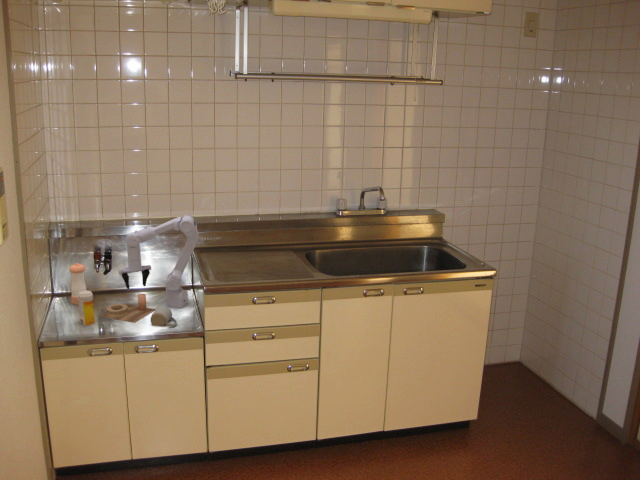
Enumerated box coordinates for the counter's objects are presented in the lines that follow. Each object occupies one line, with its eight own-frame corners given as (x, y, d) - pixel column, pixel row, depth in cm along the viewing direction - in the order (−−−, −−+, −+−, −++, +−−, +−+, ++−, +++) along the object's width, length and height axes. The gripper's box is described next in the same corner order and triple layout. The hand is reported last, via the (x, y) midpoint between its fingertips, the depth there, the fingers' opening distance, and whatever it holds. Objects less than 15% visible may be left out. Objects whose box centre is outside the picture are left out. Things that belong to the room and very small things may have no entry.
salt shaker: (69, 301, 312) (66, 262, 307) (85, 298, 316) (82, 260, 311) (74, 305, 307) (71, 266, 301) (90, 302, 311) (87, 264, 306)
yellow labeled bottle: (97, 323, 288) (95, 291, 283) (88, 328, 282) (86, 295, 278) (86, 321, 289) (83, 289, 285) (77, 326, 284) (74, 293, 280)
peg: (148, 308, 302) (147, 294, 300) (143, 311, 299) (142, 296, 297) (141, 307, 304) (140, 293, 302) (136, 310, 300) (136, 295, 298)
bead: (131, 311, 298) (131, 305, 297) (119, 319, 290) (119, 312, 289) (115, 309, 301) (114, 302, 300) (102, 315, 293) (102, 309, 292)
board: (156, 311, 302) (156, 309, 302) (135, 325, 287) (134, 322, 286) (121, 305, 308) (121, 303, 308) (98, 318, 293) (98, 316, 292)
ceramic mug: (149, 328, 284) (149, 311, 282) (155, 320, 292) (155, 304, 290) (173, 329, 284) (173, 313, 281) (179, 322, 291) (178, 306, 289)
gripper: (147, 254, 307) (148, 281, 310) (115, 258, 299) (117, 287, 303) (152, 258, 301) (153, 286, 305) (120, 263, 293) (122, 291, 297)
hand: (136, 286), depth 303 cm, fingers open, 7 cm apart
